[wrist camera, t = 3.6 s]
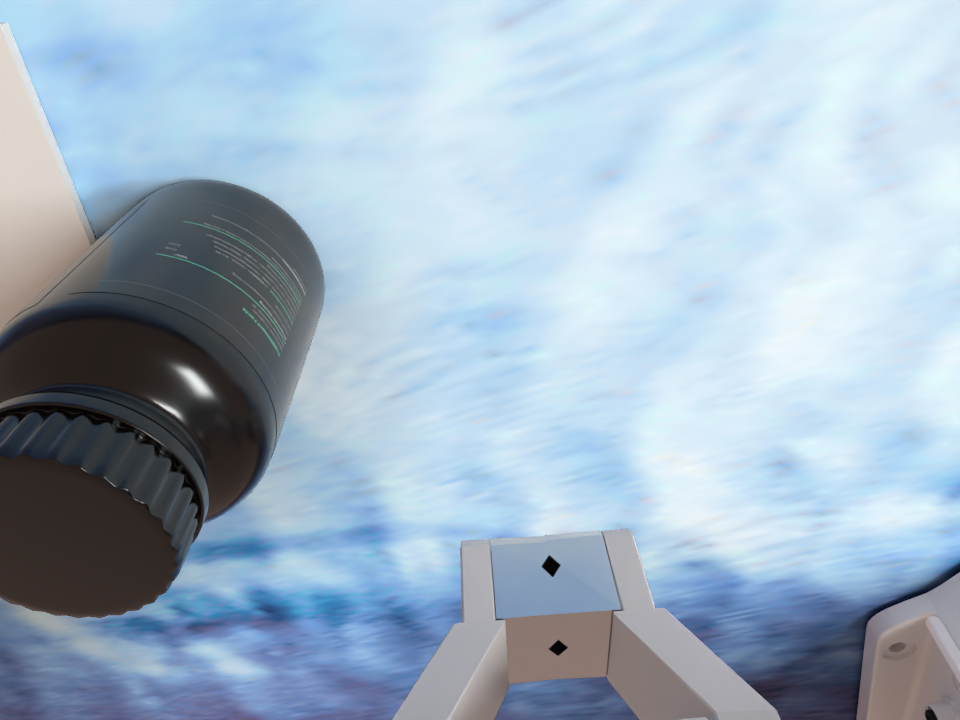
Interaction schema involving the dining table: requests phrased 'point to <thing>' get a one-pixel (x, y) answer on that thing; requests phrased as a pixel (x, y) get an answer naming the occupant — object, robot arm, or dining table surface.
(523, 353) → the dining table surface
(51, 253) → the mat
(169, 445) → the supplement bottle
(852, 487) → the dining table surface
